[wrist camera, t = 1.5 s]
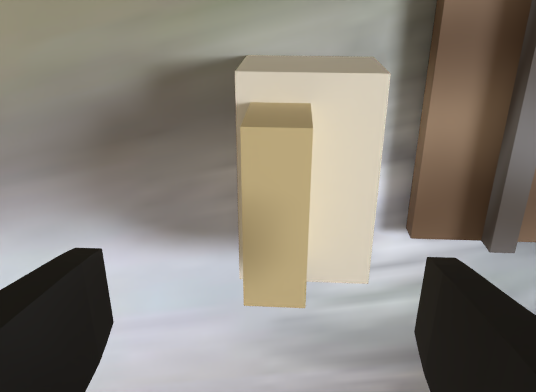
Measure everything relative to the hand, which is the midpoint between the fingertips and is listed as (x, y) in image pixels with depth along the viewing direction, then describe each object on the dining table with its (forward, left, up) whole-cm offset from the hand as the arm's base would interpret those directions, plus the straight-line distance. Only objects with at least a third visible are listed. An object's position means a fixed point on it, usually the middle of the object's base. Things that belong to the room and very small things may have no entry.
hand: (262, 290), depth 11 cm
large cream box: (0, -1, -11) cm, 11 cm away
